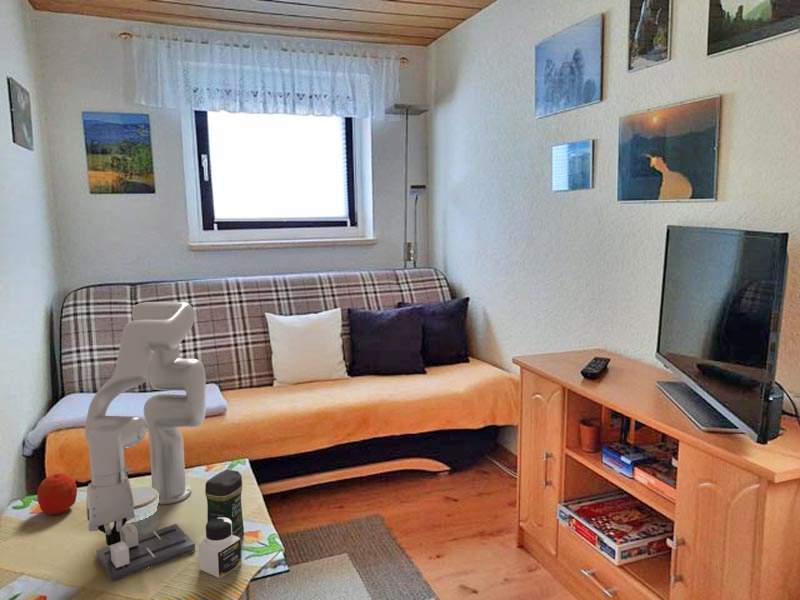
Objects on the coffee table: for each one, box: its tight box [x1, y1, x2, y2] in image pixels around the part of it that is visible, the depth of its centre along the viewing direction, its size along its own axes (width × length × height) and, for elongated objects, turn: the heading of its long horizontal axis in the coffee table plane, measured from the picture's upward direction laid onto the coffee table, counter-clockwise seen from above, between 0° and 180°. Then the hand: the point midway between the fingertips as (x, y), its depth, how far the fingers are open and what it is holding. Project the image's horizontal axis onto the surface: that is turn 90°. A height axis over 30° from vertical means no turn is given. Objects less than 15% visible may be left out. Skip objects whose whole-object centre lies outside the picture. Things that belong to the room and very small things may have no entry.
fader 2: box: [120, 523, 139, 548], centre depth 152 cm, size 4×3×4 cm
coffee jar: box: [204, 469, 245, 541], centre depth 156 cm, size 10×8×19 cm
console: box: [95, 523, 196, 583], centre depth 151 cm, size 13×20×2 cm, turn 130°
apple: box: [36, 473, 78, 516], centre depth 173 cm, size 10×10×12 cm
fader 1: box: [110, 541, 130, 568], centre depth 144 cm, size 4×3×4 cm
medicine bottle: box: [198, 517, 242, 579], centre depth 145 cm, size 7×7×12 cm
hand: (113, 545), depth 149 cm, fingers closed
